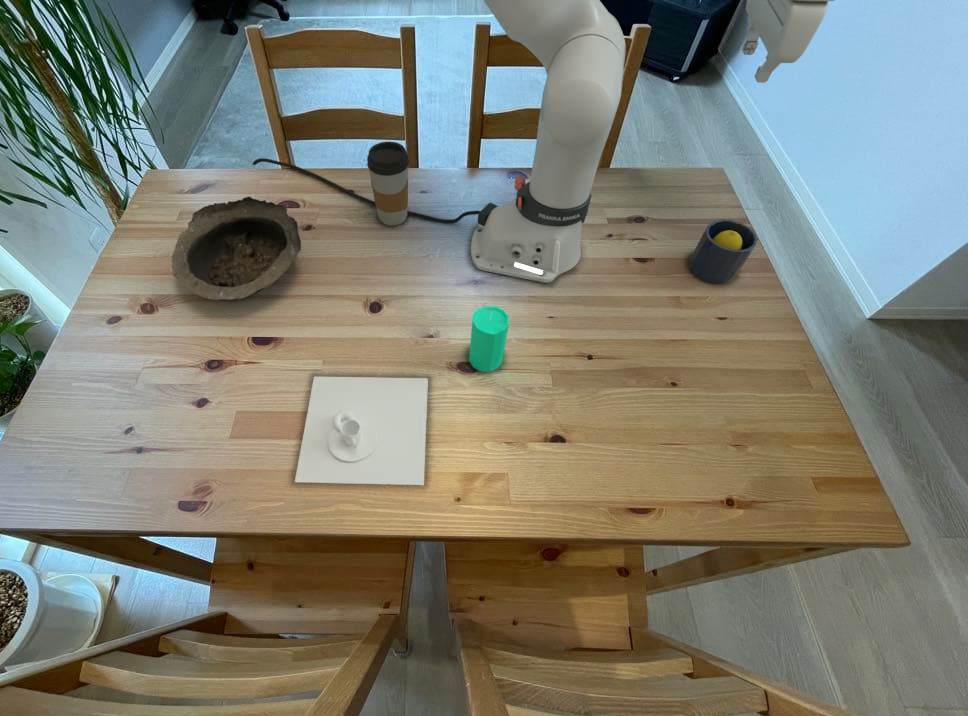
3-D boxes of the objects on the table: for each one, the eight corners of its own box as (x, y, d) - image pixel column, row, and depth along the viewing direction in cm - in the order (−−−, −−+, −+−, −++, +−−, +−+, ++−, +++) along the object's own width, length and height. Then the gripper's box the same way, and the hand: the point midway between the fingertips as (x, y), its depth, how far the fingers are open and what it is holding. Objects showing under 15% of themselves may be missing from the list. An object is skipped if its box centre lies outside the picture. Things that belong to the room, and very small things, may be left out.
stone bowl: (294, 219, 112) (285, 183, 104) (320, 305, 101) (311, 272, 92) (178, 243, 108) (158, 208, 99) (191, 336, 96) (170, 304, 88)
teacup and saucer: (332, 414, 85) (328, 401, 82) (380, 415, 85) (377, 402, 82) (325, 462, 81) (320, 450, 77) (375, 463, 80) (372, 451, 77)
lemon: (730, 276, 100) (751, 243, 93) (700, 272, 100) (719, 239, 94) (727, 257, 103) (748, 224, 96) (698, 253, 103) (717, 220, 96)
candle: (464, 366, 90) (467, 321, 80) (474, 341, 93) (479, 294, 83) (497, 376, 89) (504, 331, 79) (506, 350, 92) (514, 303, 82)
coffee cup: (378, 203, 115) (370, 138, 102) (414, 206, 114) (411, 141, 101) (370, 228, 110) (361, 163, 98) (408, 231, 110) (404, 166, 97)
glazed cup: (692, 282, 100) (711, 250, 93) (685, 250, 105) (702, 218, 98) (740, 285, 99) (762, 253, 93) (730, 253, 104) (751, 220, 97)
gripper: (762, -63, 81) (721, 37, 92) (798, -9, 70) (747, 96, 82) (804, -62, 80) (758, 38, 92) (847, -8, 69) (788, 98, 81)
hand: (753, 66), depth 87 cm, fingers open, 8 cm apart
